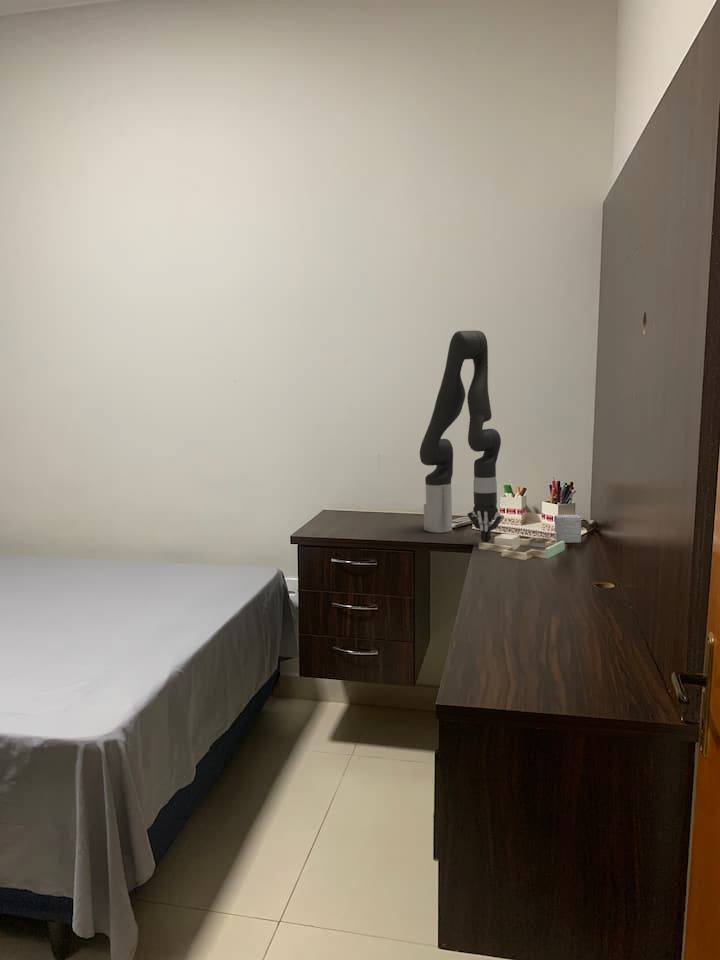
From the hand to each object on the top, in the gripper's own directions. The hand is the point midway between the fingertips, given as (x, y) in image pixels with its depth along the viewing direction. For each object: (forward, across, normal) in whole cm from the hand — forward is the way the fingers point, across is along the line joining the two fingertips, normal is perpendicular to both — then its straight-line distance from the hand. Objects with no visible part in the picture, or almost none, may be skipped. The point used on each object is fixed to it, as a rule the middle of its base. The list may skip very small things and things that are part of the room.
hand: (485, 541), depth 244 cm
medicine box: (+1, +21, +18) cm, 27 cm away
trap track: (+1, +14, 0) cm, 14 cm away
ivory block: (+1, +8, 0) cm, 8 cm away
